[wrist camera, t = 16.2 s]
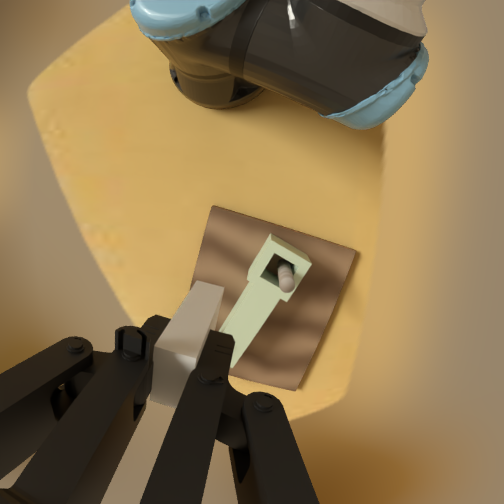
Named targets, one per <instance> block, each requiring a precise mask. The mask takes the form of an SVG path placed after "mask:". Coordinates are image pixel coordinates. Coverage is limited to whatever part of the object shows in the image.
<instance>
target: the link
mask: <svg viewBox="0 0 504 504" xmlns="http://www.w3.org/2000/svg"><path fill="white" fill-rule="evenodd" d="M274 253H275V254H277V255H279V256H281V257H282V258H284V259H286V260H287V261H289V262H291V263H292V264H291V265H290V266H291V270H292V274H293V278H294V282H295V289H296V288H297V286H298V285H299V283H300V282H301V280H302V279H303V277H304V275H305V274H306V272H307V271H308V269H309V268H310V266H311V265H312V263H311V261H310V259H309V257H308V255H307V254H305V253H304V252H302V251H300V250H299V249H297V248H295V247H294V246H292V245H290V244H289V243H287V242H285V241H283V240H282V239H280V238H278V237H277V236H275V235H273V234H272V233H270V235H269V237H268V238H267V240H266V242H265V243H264V245H263V247H262V248H261V250H260V252H259V253H258V255H257V256H256V258H255V260H254V261H253V263H252V265H251V266H250V268H249V271H248V276H247V280H248V281H249V283H248V285H247V286H246V288H245V289H244V291H243V293H242V294H241V296H240V298H239V299H238V301H237V302H236V304H235V306H234V307H233V309H232V311H231V312H230V314H229V315H228V317H227V319H226V320H225V322H224V323H223V325H222V327H221V328H220V330H219V332H222V333H226V334H230V335H232V336H233V338H234V340H235V346H234V351H233V355H232V360H231V365H230V367H231V368H233V367H234V365H235V364H236V363H237V361H238V360H239V358H240V357H241V356H242V354H243V353H244V351H245V350H246V348H247V347H248V345H249V344H250V343H251V341H252V340H253V338H254V337H255V335H256V334H257V332H258V331H259V330H260V328H261V327H262V325H263V324H264V322H265V321H266V319H267V318H268V316H269V315H270V313H271V312H272V310H273V309H274V307H275V306H276V304H277V303H278V301H279V300H280V299H282V300H284V301H286V302H287V301H288V300H289V298H290V297H291V295H292V294H293V292H294V291H295V289H294V290H293V291H292V292H290V293H284V292H282V291H281V289H280V286H279V277H278V276H277V275H276V274H274V273H272V272H270V271H269V270H267V269H265V267H266V266H267V264H268V263H269V261H270V259H271V258H272V256H273V254H274Z"/></svg>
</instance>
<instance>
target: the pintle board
mask: <svg viewBox="0 0 504 504" xmlns="http://www.w3.org/2000/svg"><path fill="white" fill-rule="evenodd" d="M270 233H272V234H273V235H275V236H277V237H278V238H280V239H282V240H283V241H285V242H287V243H289V244H290V245H292V246H294V247H295V248H297V249H299V250H300V251H302V252H304V253H305V254H307V255H308V257H309V259H310V261H311V263H312V265H311V266H310V268H309V269H308V271H307V272H306V274H305V275H304V277H303V279H302V280H301V282H300V283H299V285H298V286H297V288H296V289H295V282H294V278H293V274H292V270H291V266H290V265H291V264H292V263H291V262H289V261H287V260H286V259H284V258H282V257H281V256H279V255H277V254H275V253H274V254H273V256H272V258H271V259H270V261H269V263H268V264H267V266H266V267H265V269H267V270H269V271H270V272H272V273H274V274H276V275H277V276H278V277H279V286H280V289H281V291H282V292H284V293H290V292H292V291H293V290H294V289H295V291H294V292H293V294H292V295H291V297H290V298H289V300H288V301H287V302H286V301H284V300H282V299H280V300H279V301H278V303H277V304H276V306H275V307H274V309H273V310H272V312H271V313H270V315H269V316H268V318H267V319H266V321H265V322H264V324H263V325H262V327H261V328H260V330H259V331H258V332H257V334H256V335H255V337H254V338H253V340H252V341H251V343H250V344H249V345H248V347H247V348H246V350H245V351H244V353H243V354H242V356H241V357H240V358H239V360H238V361H237V363H236V364H235V365H234V367H233V368H231V367H230V370H229V374H228V375H231V376H234V377H238V378H242V379H245V380H249V381H253V382H257V383H261V384H265V385H269V386H273V387H278V388H282V389H286V390H291V391H296V389H297V387H298V385H299V383H300V381H301V379H302V377H303V375H304V373H305V371H306V369H307V367H308V365H309V363H310V360H311V358H312V356H313V354H314V352H315V350H316V348H317V345H318V343H319V341H320V339H321V336H322V334H323V332H324V330H325V327H326V325H327V323H328V321H329V318H330V316H331V313H332V311H333V309H334V306H335V304H336V302H337V299H338V297H339V294H340V292H341V289H342V287H343V284H344V282H345V279H346V277H347V274H348V271H349V269H350V266H351V263H352V261H353V258H354V255H355V253H356V251H355V250H353V249H350V248H347V247H344V246H341V245H338V244H335V243H332V242H329V241H326V240H323V239H320V238H317V237H314V236H311V235H308V234H305V233H302V232H298V231H295V230H292V229H289V228H286V227H283V226H279V225H276V224H273V223H270V222H267V221H263V220H260V219H257V218H254V217H250V216H247V215H244V214H240V213H237V212H234V211H230V210H227V209H224V208H220V207H217V206H214V205H213V206H212V207H211V211H210V214H209V218H208V221H207V225H206V229H205V232H204V236H203V240H202V244H201V247H200V251H199V255H198V259H197V263H196V267H195V271H194V275H193V279H192V283H191V287H190V290H191V288H192V287H193V285H194V284H195V282H196V281H197V280H198V281H202V282H205V283H209V284H213V285H217V286H221V287H224V292H223V296H222V301H221V305H220V309H219V314H218V318H217V323H216V327H215V331H219V330H220V328H221V327H222V325H223V323H224V322H225V320H226V319H227V317H228V315H229V314H230V312H231V311H232V309H233V307H234V306H235V304H236V302H237V301H238V299H239V298H240V296H241V294H242V293H243V291H244V289H245V288H246V286H247V285H248V283H249V281H248V280H247V276H248V271H249V268H250V266H251V265H252V263H253V261H254V260H255V258H256V256H257V255H258V253H259V252H260V250H261V248H262V247H263V245H264V243H265V242H266V240H267V238H268V237H269V235H270Z"/></svg>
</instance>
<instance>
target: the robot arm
mask: <svg viewBox="0 0 504 504" xmlns="http://www.w3.org/2000/svg"><path fill="white" fill-rule="evenodd" d="M424 2H425V0H130V10H131V13H132V16H133V18H134V20H135V21H136V23H137V24H138V26H139V29H140V31H141V32H142V33H143V34H144V35H145V36H146V37H148V38H149V39H150V40H151V41H152V42H153V43H154V44H155V45H156V46H157V47H158V48H159V49H160V50H161V52H162V53H163V54H164V55H165V56H166V57H167V58H168V59H169V68H170V74H171V77H172V80H173V82H174V84H175V86H176V87H177V88H178V90H179V91H180V92H181V93H182V94H183V95H184V96H185V97H186V98H188V99H189V100H190V101H192V102H194V103H196V104H198V105H200V106H203V107H207V108H213V109H226V108H232V107H236V106H239V105H242V104H245V103H247V102H249V101H250V100H252V99H254V98H255V97H256V96H258V95H259V94H260V93H261V92H262V91H263V90H264V89H265V88H266V89H269V90H271V91H273V92H276V93H278V94H280V95H283V96H285V97H287V98H289V99H291V100H294V101H296V102H298V103H300V104H302V105H304V106H306V107H308V108H311V109H313V110H315V111H317V112H318V114H319V115H320V116H322V117H324V118H328V119H333V120H335V121H337V122H339V123H341V124H343V125H345V126H347V127H349V128H352V129H358V130H367V129H371V128H373V127H376V126H378V125H380V124H381V123H383V122H384V121H386V120H387V119H388V118H390V117H391V116H392V115H393V114H394V113H395V112H396V111H397V110H398V109H399V108H400V107H402V105H403V104H404V103H405V102H406V101H407V100H408V99H409V97H410V96H411V95H412V93H413V92H414V90H415V84H416V83H418V82H419V81H420V80H421V79H422V77H423V75H424V73H425V71H426V69H427V66H428V62H429V55H428V51H427V49H426V48H425V47H424V44H423V43H422V42H421V41H422V39H423V38H424V36H425V35H426V33H427V27H426V23H425V20H424V17H423V14H422V5H423V3H424ZM223 292H224V287H221V286H217V285H213V284H209V283H205V282H202V281H198V280H197V281H196V282H195V284H194V285H193V287H192V288H191V290H190V291H189V293H188V294H187V296H186V298H185V299H184V301H183V302H182V304H181V305H180V307H179V308H178V310H177V311H176V313H175V314H174V316H173V317H172V319H169V318H166V317H162V316H159V315H155V316H152V317H150V318H148V319H147V320H146V322H145V323H144V325H143V326H142V327H141V328H139V327H135V326H124V327H120V328H118V329H117V330H116V331H115V350H114V351H113V352H112V353H106V352H99V351H93V347H92V344H91V343H90V342H89V341H88V340H86V339H84V338H82V337H76V336H75V337H68V338H65V339H63V340H61V341H59V342H57V343H56V344H54V345H52V346H50V347H48V348H46V349H45V350H43V351H41V352H39V353H37V354H35V355H34V356H32V357H30V358H28V359H27V360H25V361H23V362H21V363H19V364H17V365H16V366H14V367H12V368H10V369H9V370H7V371H5V372H3V373H1V374H0V480H1V479H2V478H3V477H5V476H6V475H7V474H8V473H10V472H11V471H12V470H13V469H15V468H16V467H17V466H19V465H20V464H21V463H22V462H24V461H25V460H26V459H27V458H28V457H30V456H31V455H32V454H34V453H35V452H36V451H37V452H36V453H35V455H34V456H33V458H32V459H31V460H30V462H29V463H28V464H27V466H26V467H25V469H24V470H23V472H22V473H21V475H20V476H19V477H18V479H17V481H16V482H15V483H14V485H13V486H12V487H11V488H9V489H0V504H100V503H101V501H102V499H103V497H104V494H105V492H106V490H107V488H108V486H109V484H110V482H111V480H112V478H113V475H114V473H115V471H116V469H117V467H118V464H119V463H120V461H121V459H122V456H123V454H124V452H125V450H126V448H127V446H128V444H129V442H130V440H131V438H132V436H133V434H134V432H135V430H136V428H137V425H138V423H139V421H140V419H141V417H142V415H143V413H144V411H145V409H146V399H147V397H148V395H149V394H150V400H151V401H154V402H157V403H160V404H163V405H166V406H169V407H173V408H176V410H175V413H174V415H173V418H172V421H171V423H170V426H169V428H168V431H167V433H166V436H165V438H164V441H163V444H162V446H161V449H160V451H159V454H158V457H157V459H156V462H155V464H154V467H153V470H152V472H151V475H150V477H149V480H148V483H147V486H146V488H145V491H144V493H143V496H142V499H141V501H140V504H201V502H202V497H203V493H204V488H205V484H206V479H207V474H208V470H209V465H210V461H211V456H212V451H213V447H214V442H215V439H216V440H218V441H220V442H222V443H224V444H226V445H228V446H229V454H230V460H231V466H232V472H233V478H234V483H235V489H236V494H237V500H238V504H319V501H318V499H317V496H316V494H315V491H314V488H313V486H312V483H311V480H310V478H309V475H308V473H307V470H306V467H305V464H304V462H303V459H302V457H301V454H300V451H299V448H298V446H297V443H296V440H295V438H294V435H293V432H292V429H291V427H290V424H289V421H288V419H287V416H286V413H285V410H284V408H283V405H282V403H281V402H280V400H279V399H277V398H276V397H275V396H273V395H271V394H269V393H265V392H253V393H250V394H248V395H247V396H246V395H244V394H242V393H240V392H238V391H236V390H235V389H234V388H233V387H232V386H231V385H230V383H229V381H228V374H229V370H230V365H231V360H232V355H233V351H234V346H235V340H234V338H233V336H232V335H230V334H226V333H222V332H219V331H215V327H216V323H217V318H218V314H219V309H220V305H221V301H222V296H223ZM62 384H63V385H62ZM61 385H62V386H61ZM59 386H60V387H59Z"/></svg>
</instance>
